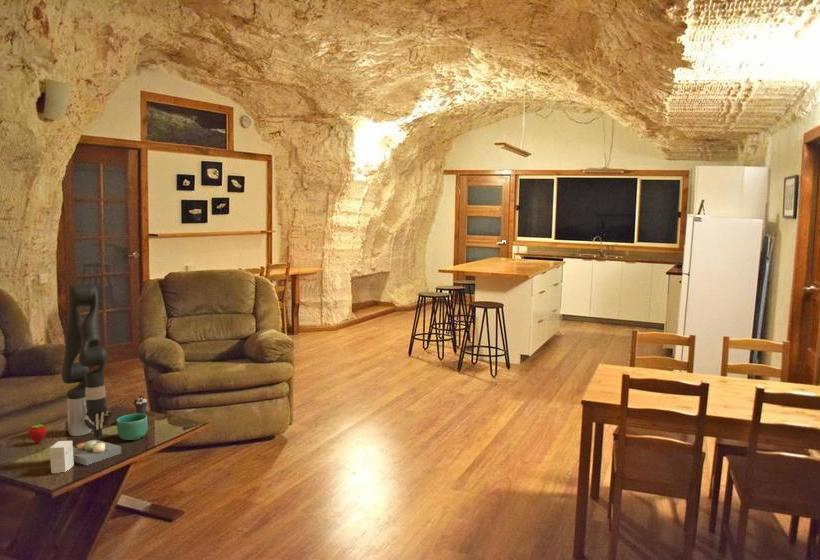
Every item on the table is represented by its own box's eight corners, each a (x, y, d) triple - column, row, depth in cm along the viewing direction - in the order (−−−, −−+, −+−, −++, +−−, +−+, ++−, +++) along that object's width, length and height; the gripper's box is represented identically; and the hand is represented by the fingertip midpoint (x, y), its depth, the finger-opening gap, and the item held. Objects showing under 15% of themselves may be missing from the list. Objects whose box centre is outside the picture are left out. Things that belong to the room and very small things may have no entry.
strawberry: (32, 441, 293) (31, 419, 292) (50, 441, 293) (48, 419, 292) (25, 446, 287) (24, 424, 286) (43, 445, 287) (42, 423, 286)
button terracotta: (74, 453, 277) (74, 445, 276) (84, 449, 281) (84, 441, 280) (81, 455, 274) (80, 447, 274) (91, 451, 278) (90, 443, 278)
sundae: (152, 421, 320) (150, 391, 318) (141, 425, 314) (139, 394, 312) (142, 419, 323) (140, 389, 321) (131, 423, 317) (129, 393, 315)
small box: (59, 466, 263) (58, 440, 262) (74, 465, 264) (72, 440, 263) (50, 473, 256) (48, 447, 254) (65, 473, 256) (63, 447, 255)
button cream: (90, 453, 271) (90, 445, 270) (100, 449, 275) (100, 441, 274) (97, 455, 268) (97, 447, 268) (107, 451, 272) (107, 443, 272)
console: (60, 458, 272) (60, 451, 272) (95, 446, 286) (95, 439, 286) (86, 465, 263) (85, 458, 263) (121, 453, 277) (121, 446, 277)
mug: (141, 442, 290) (140, 422, 289) (113, 443, 290) (111, 422, 289) (155, 430, 306) (154, 410, 305) (128, 430, 306) (127, 411, 305)
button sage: (82, 451, 274) (81, 442, 273) (92, 447, 278) (92, 439, 277) (89, 453, 271) (88, 444, 271) (99, 449, 275) (98, 441, 275)
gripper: (104, 391, 277) (107, 431, 278) (75, 399, 265) (77, 440, 267) (115, 393, 273) (118, 434, 275) (86, 401, 262) (88, 443, 263)
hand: (98, 437), depth 271 cm, fingers closed
